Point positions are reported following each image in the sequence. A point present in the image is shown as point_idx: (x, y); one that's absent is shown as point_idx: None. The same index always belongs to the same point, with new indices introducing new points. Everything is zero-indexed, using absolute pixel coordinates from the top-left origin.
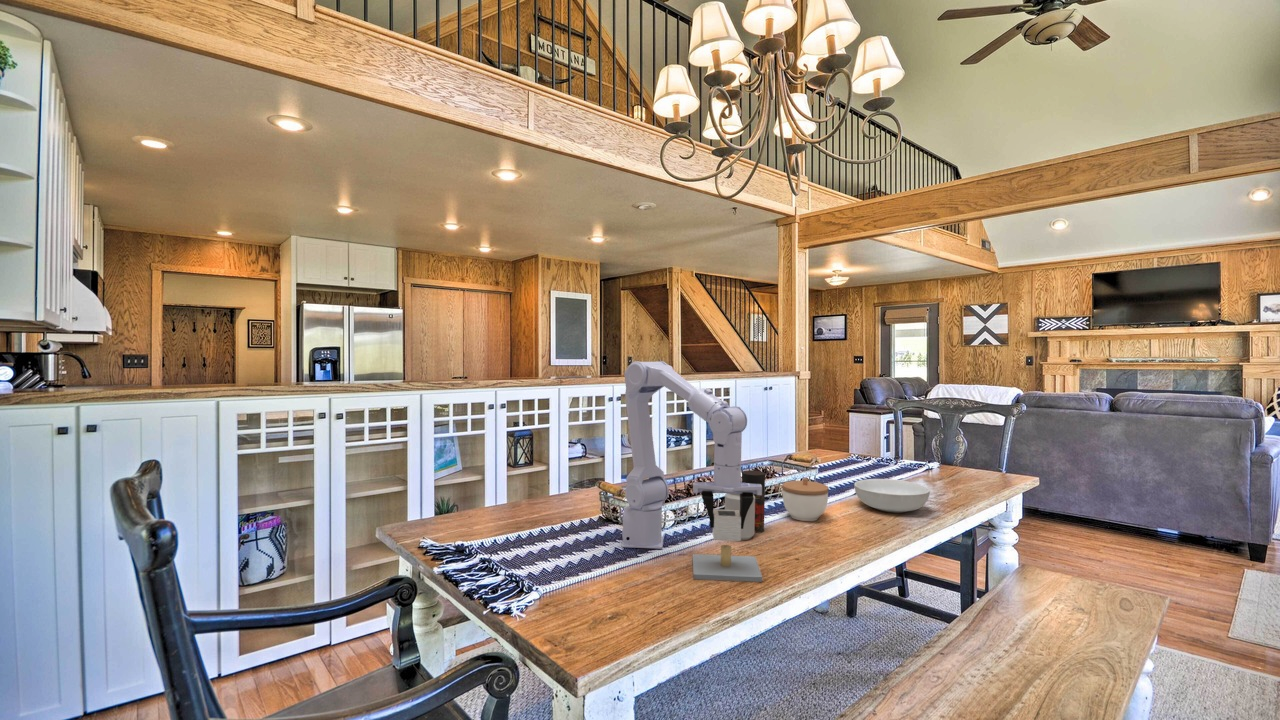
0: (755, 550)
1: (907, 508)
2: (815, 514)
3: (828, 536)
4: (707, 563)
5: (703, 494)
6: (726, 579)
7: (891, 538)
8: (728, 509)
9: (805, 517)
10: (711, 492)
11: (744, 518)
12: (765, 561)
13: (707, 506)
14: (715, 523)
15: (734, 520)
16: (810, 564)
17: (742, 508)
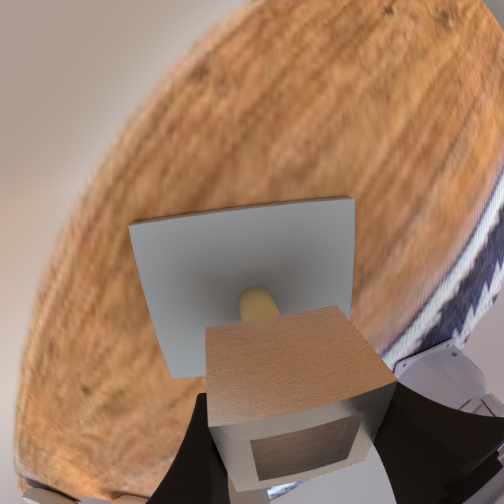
0: (184, 420)
1: (36, 489)
2: (117, 501)
3: (81, 462)
4: (312, 297)
5: (492, 460)
6: (248, 206)
7: (16, 444)
8: (262, 501)
9: (131, 499)
10: (460, 501)
11: (188, 436)
12: (147, 371)
13: (456, 414)
14: (369, 355)
15: (255, 403)
16: (53, 365)
17: (205, 491)
